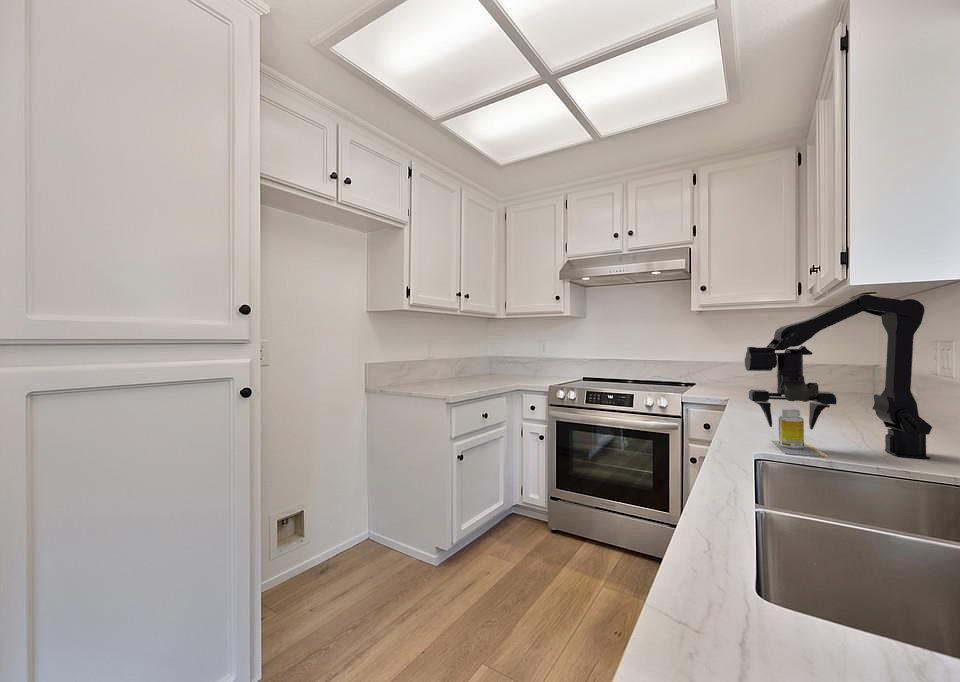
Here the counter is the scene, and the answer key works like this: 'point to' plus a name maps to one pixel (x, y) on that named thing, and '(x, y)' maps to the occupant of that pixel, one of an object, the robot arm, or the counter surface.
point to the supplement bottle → (791, 429)
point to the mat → (802, 450)
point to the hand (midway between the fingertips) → (790, 428)
